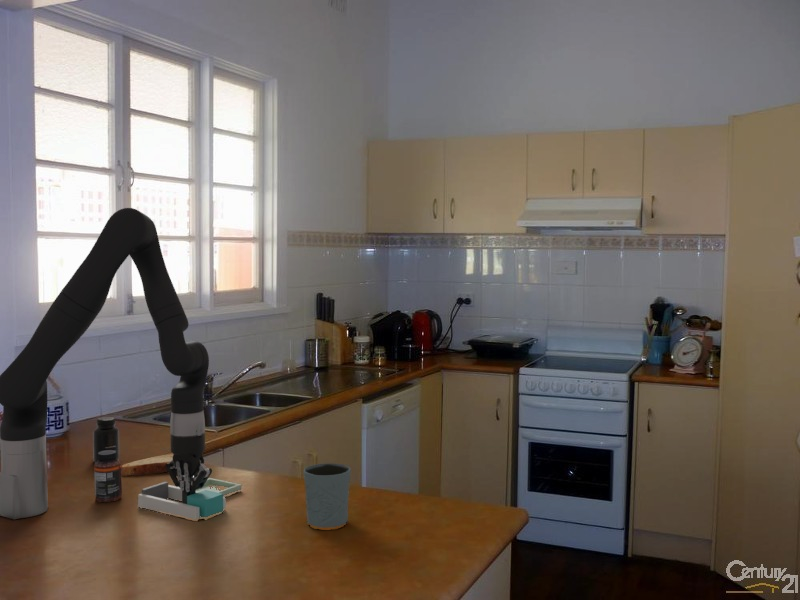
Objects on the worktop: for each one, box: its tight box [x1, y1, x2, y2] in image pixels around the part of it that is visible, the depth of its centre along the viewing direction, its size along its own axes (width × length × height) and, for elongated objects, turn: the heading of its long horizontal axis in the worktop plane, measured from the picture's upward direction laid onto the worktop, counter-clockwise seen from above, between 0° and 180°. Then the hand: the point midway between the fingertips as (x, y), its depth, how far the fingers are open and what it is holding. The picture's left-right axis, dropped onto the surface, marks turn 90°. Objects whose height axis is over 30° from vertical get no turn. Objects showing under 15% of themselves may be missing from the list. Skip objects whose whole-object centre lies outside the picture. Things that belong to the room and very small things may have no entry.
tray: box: [196, 477, 243, 496], centre depth 190 cm, size 11×11×2 cm
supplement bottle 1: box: [92, 416, 120, 463], centre depth 220 cm, size 7×7×12 cm
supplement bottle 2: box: [93, 450, 123, 503], centre depth 186 cm, size 6×6×11 cm
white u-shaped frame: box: [137, 481, 227, 519], centre depth 179 cm, size 9×18×4 cm, turn 58°
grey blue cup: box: [303, 462, 352, 528], centre depth 170 cm, size 10×10×12 cm
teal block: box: [187, 490, 223, 517], centre depth 175 cm, size 6×6×4 cm
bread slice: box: [121, 453, 174, 477], centre depth 212 cm, size 18×18×4 cm
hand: (189, 506), depth 178 cm, fingers closed
